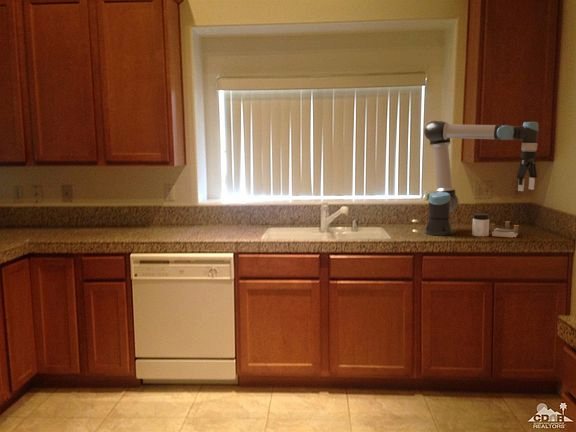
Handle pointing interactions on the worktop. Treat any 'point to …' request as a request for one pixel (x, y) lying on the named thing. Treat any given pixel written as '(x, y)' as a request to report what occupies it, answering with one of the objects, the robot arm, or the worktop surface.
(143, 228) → the worktop surface
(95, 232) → the worktop surface
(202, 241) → the worktop surface
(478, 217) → the jar
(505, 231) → the cradle board
